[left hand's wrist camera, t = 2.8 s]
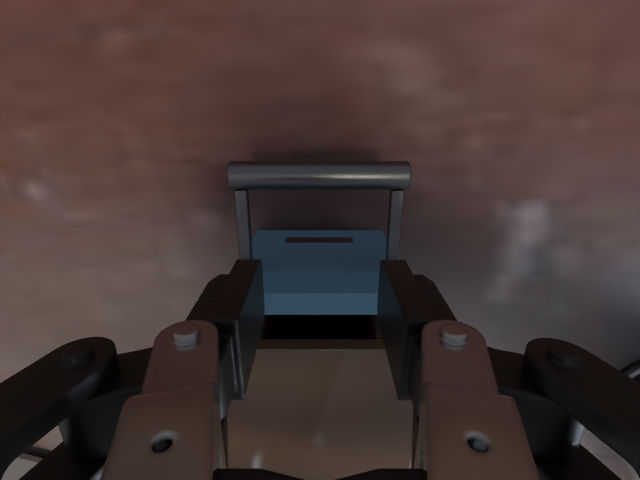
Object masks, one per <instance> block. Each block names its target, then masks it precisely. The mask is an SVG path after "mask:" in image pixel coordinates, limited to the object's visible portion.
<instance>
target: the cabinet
mask: <svg viewBox="0 0 640 480" xmlns="http://www.w3.org/2000/svg"><path fill="white" fill-rule="evenodd" d="M227 415H228V428H229V468H261V469H265V470H269V471H273V472H277V473H281V474H285V475H288V476H292V477H296V478H300V479H304V480H336V479H340V478H344V477H348V476H352V475H355V474H359V473H363V472H367V471H371V470H375V469H379V468H410V464H411V428H412V415H413V404H412V401H398V397H397V393H396V389H395V386H394V382H393V378H392V374H391V370H390V366H389V362H388V358H387V355H386V351H385V347H384V343H383V339H259V343H258V347H257V351H256V355H255V359H254V363H253V367H252V371H251V375H250V379H249V383H248V387H247V391H246V395H245V399H244V400H231V403H230V407H229V410H228V412H227Z"/></svg>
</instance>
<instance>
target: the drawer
mask: <svg viewBox="0 0 640 480" xmlns="http://www.w3.org/2000/svg"><path fill="white" fill-rule="evenodd" d="M227 180H228V185H229V188H230V189H232V190H235V191H234V193H235V205H236V217H237V229H238V242H239V254H240V259H261V261H262V269H263V286H264V303H265V313H264V323H263V327H262V331H261V335H260V339H382V335H381V331H380V327H379V323H378V316H377V300H378V284H379V268H380V262H381V260H398V258H399V245H400V233H401V220H402V208H403V195H404V191H403V190H407V189H408V188H409V185H410V181H411V166H410V163H409V162H408V161H230V162H229V163H228V167H227ZM248 190H390V196H389V211H388V226H387V240H386V238H385V235H384V233H383V231H382V230H257V231H256V233H255V235H254V237H253V239H252V237H251V222H250V208H249V193H248Z"/></svg>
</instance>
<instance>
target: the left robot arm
mask: <svg viewBox="0 0 640 480" xmlns="http://www.w3.org/2000/svg"><path fill="white" fill-rule="evenodd" d="M264 313H265V303H264V286H263V269H262V261H261V259H237V260H236V262H235V264H234V266H233V268H232V270H231V272H230V274H220V275H218V276H217V277H215V278H214V279H212V280H211V281H209V282H208V284H207V285H206V287H205V289H204V290H203V293H202V294H201V295H200V297H199V300H198V301H197V302H196V304H195V305H194V307H193V309H192V310H191V312H190V314H189V315H188V317H187V319H186V320H185V321H182V322H178V323H176V324H173V325H171V326H169V327H167V328H165V329H164V330H163V331H161V332H160V333H159V334H158V335H157V337H156V339H155V341H154V345H153V347H151V348H148V349H143V350H138V351H133V352H128V353H123V354H118V355H117V351H116V347H115V344H114V342H113V341H111V340H110V339H107V338H103V337H89V338H83V339H79V340H76V341H72V342H70V343H67V344H65V345H63V346H61V347H59V348H57V349H55V350H54V351H52V352H50V353H49V354H47V355H45V356H44V357H42V358H41V359H39V360H37V361H36V362H34V363H33V364H31V365H29V366H28V367H26V368H24V369H23V370H21V371H20V372H18V373H16V374H15V375H13V376H11V377H10V378H8V379H7V380H5V381H3V382H2V383H0V480H2V477H3V475H4V473H5V471H6V470H7V468H8V467H9V466H10V464H11V463H12V462H13V461H14V460H15V459H16V458H17V457H19V456H20V455H21V454H22V453H24V452H25V451H26V450H27V449H28V448H30V447H31V446H32V445H33V444H35V443H36V442H37V441H38V440H40V439H41V438H42V437H43V436H45V435H46V434H47V433H48V432H50V431H51V430H52V429H53V428H55V427H56V426H57V425H59V429H60V432H61V435H62V438H63V442H62V443H61V444H59V445H58V446H57V447H56V448H55V449H54V450H52V451H51V452H50V453H49V454H48V455H47V456H45V457H44V458H43V459H42V460H41V461H40V462H38V463H37V464H36V465H35V466H34V467H33V468H31V469H30V470H29V471H28V472H27V473H26V474H24V475H23V476H22V477H21V478H20V479H19V480H304V479H300V478H296V477H292V476H288V475H285V474H281V473H277V472H273V471H269V470H265V469H261V468H229V428H228V415H227V412H228V410H229V407H230V403H231V400H244V399H245V395H246V391H247V387H248V383H249V379H250V375H251V371H252V367H253V363H254V359H255V355H256V351H257V347H258V343H259V339H260V335H261V331H262V327H263V323H264ZM377 316H378V323H379V327H380V331H381V335H382V339H383V343H384V347H385V351H386V355H387V358H388V362H389V366H390V370H391V374H392V378H393V382H394V386H395V389H396V393H397V397H398V401H412V404H413V415H412V428H411V468H379V469H375V470H371V471H367V472H363V473H359V474H355V475H352V476H348V477H344V478H340V479H336V480H621V479H620V478H619V477H618V476H617V475H616V474H614V473H613V472H612V471H611V470H610V469H609V468H607V467H606V466H605V465H604V464H603V463H602V462H600V461H599V460H598V459H597V458H596V457H595V456H593V455H592V454H591V453H590V452H589V451H588V450H586V449H585V448H584V447H583V446H582V445H581V444H579V443H580V440H581V437H582V434H583V431H584V428H587V429H588V430H589V431H590V432H592V433H593V434H594V435H595V436H597V437H598V438H599V439H600V440H602V441H603V442H604V443H605V444H607V445H608V446H609V447H610V448H612V449H613V450H614V451H615V452H617V453H618V454H619V455H620V456H621V457H623V458H624V459H625V460H626V461H627V462H628V463H629V464H630V465H631V466H632V467H633V468H634V469H635V471H636V472H637V474H638V476H639V478H640V362H639V363H637V364H635V365H633V366H631V367H629V368H628V369H626V370H625V371H624V372H620V371H619V370H617V369H616V368H614V367H612V366H611V365H609V364H607V363H606V362H604V361H603V360H601V359H599V358H598V357H596V356H595V355H593V354H591V353H590V352H588V351H586V350H585V349H583V348H581V347H579V346H577V345H575V344H572V343H569V342H566V341H563V340H558V339H552V338H538V339H534V340H531V341H530V342H529V343H528V344H527V346H526V350H525V354H524V355H523V354H518V353H513V352H508V351H503V350H498V349H494V348H491V347H488V346H487V345H486V341H485V339H484V337H483V335H482V334H481V333H480V332H479V331H477V330H476V329H475V328H473V327H471V326H469V325H467V324H464V323H462V322H458V321H457V320H456V318H455V316H454V315H453V313H452V311H451V310H450V308H449V307H448V305H447V303H446V302H445V301H444V298H443V297H442V295H441V293H439V290H438V289H437V287H436V285H435V284H434V282H432V281H431V280H429V279H428V278H426V277H425V276H424V275H413V274H412V272H411V270H410V268H409V266H408V264H407V262H406V261H405V260H381V262H380V268H379V284H378V300H377Z"/></svg>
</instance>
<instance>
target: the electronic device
mask: <svg viewBox="0 0 640 480" xmlns="http://www.w3.org/2000/svg"><path fill="white" fill-rule="evenodd" d="M42 459H43V458H40V457H36V456H32V455H28V454H24V453H22V454H21V455H20V456H19V457H17V458H16V459H15V460H14V461H13V462H12V463H11V464H10V466H9V467H8V468H7V470H6V471H5V473H4V475H3V477H2V480H19V479H20V478H21V477H22V476H23V475H24V474H26V473H27V472H28V471H29V470H30V469H31V468H33V467H34V466H35V465H36V464H37V463H38V462H40V461H41V460H42Z"/></svg>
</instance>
